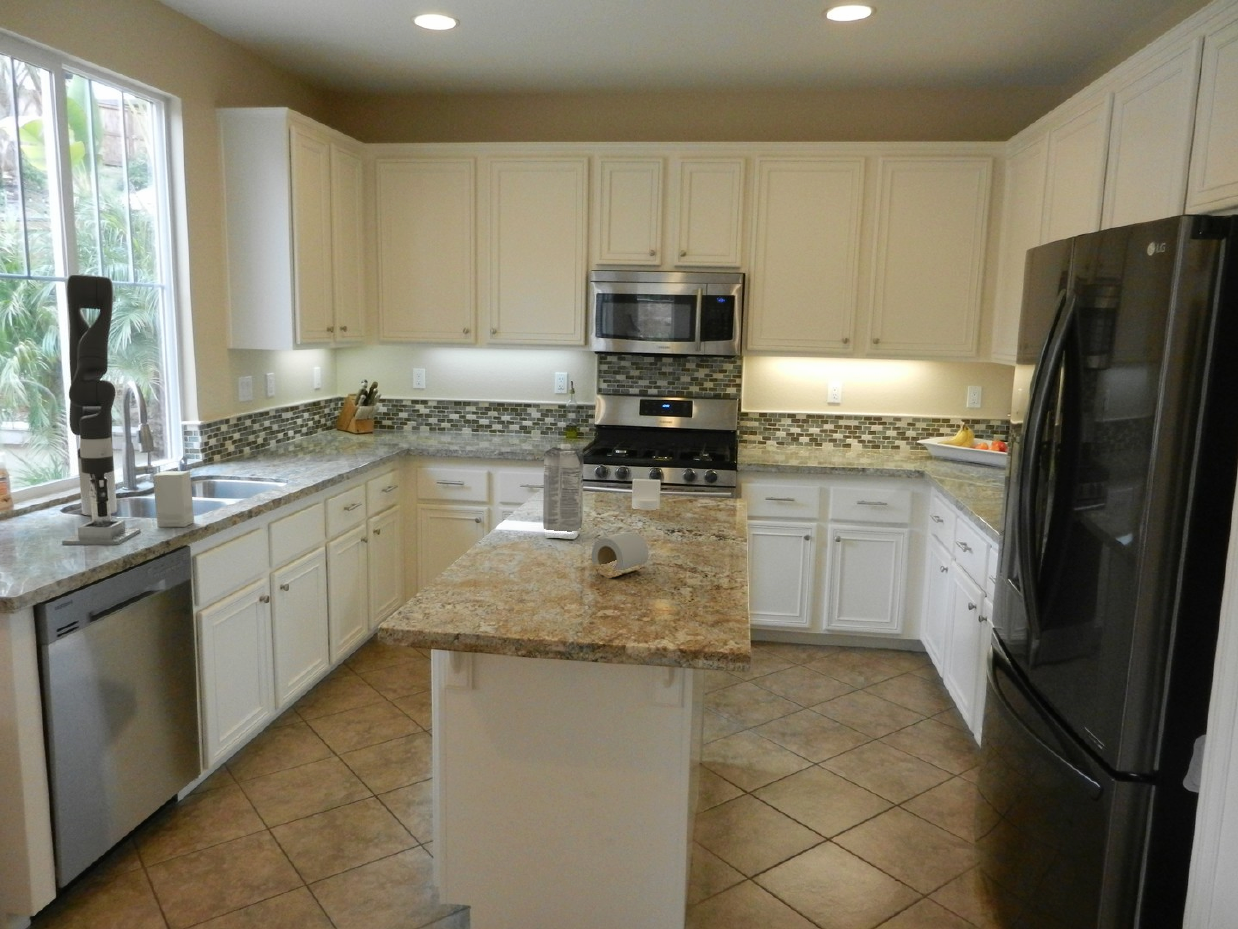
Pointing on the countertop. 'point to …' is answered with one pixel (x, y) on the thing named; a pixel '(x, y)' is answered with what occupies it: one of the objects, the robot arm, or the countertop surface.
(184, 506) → the skincare box
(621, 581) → the countertop surface
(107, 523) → the pale grey upright block
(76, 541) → the duct plate
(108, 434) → the robot arm
